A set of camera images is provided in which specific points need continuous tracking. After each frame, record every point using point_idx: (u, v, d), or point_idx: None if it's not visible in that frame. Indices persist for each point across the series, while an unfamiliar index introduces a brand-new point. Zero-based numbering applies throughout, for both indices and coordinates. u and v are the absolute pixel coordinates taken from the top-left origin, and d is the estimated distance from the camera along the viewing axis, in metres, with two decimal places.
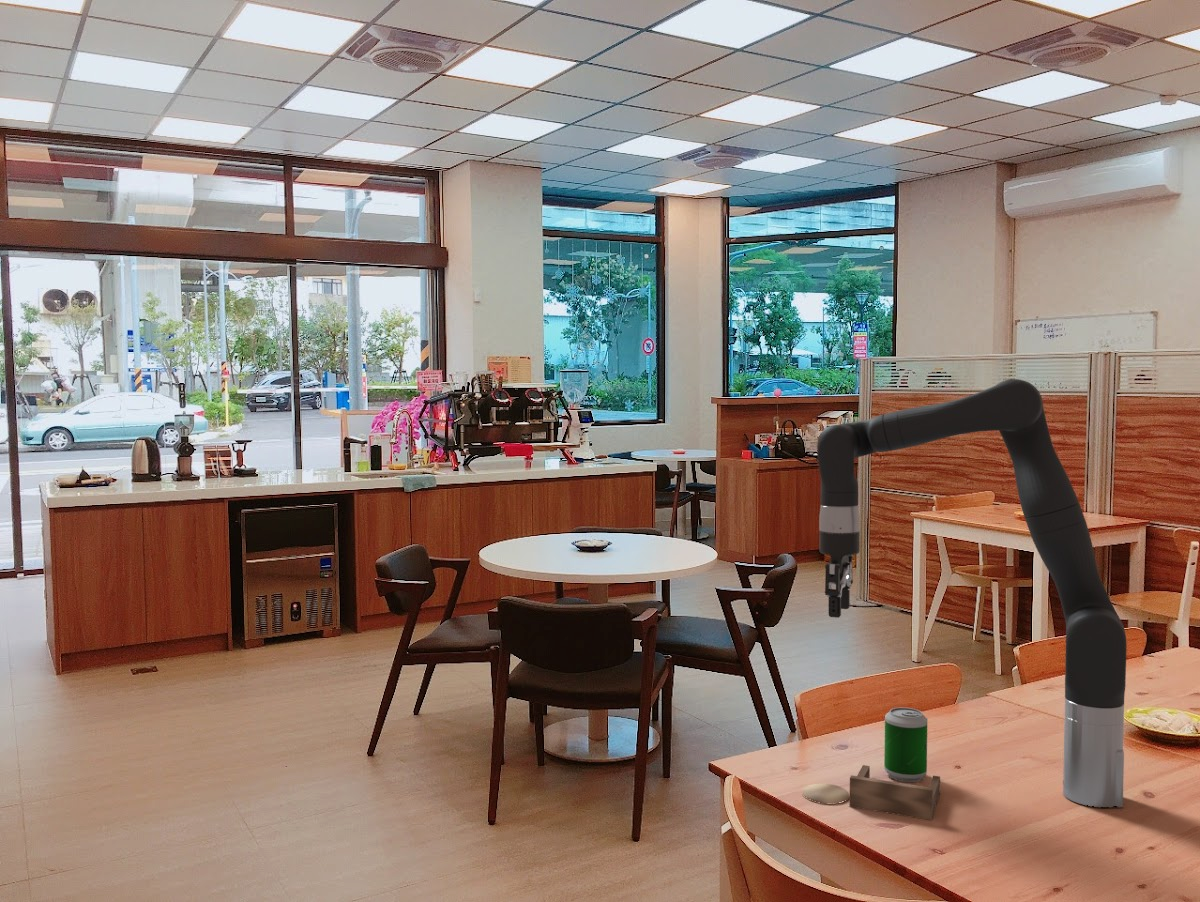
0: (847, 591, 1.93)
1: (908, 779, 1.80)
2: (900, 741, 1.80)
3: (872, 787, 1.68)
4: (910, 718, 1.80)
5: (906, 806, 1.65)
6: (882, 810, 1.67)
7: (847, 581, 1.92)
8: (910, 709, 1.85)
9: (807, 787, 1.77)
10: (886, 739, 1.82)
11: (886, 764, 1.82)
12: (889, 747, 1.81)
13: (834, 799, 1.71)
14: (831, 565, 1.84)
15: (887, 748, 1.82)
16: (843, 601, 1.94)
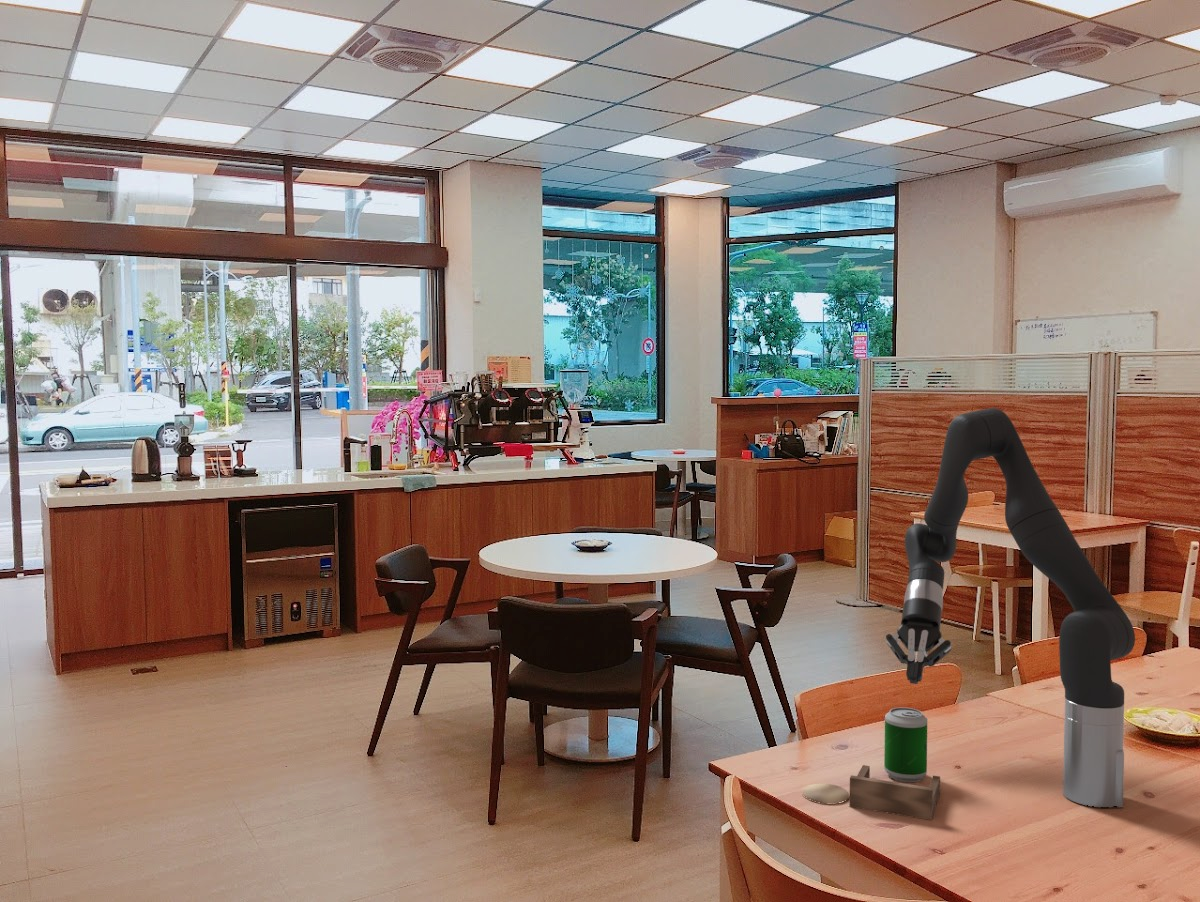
0: None
1: (908, 779, 1.80)
2: (900, 741, 1.80)
3: (872, 787, 1.68)
4: (910, 718, 1.80)
5: (906, 806, 1.65)
6: (882, 810, 1.67)
7: None
8: (910, 709, 1.85)
9: (807, 787, 1.77)
10: (886, 739, 1.82)
11: (886, 764, 1.82)
12: (889, 747, 1.81)
13: (834, 799, 1.71)
14: None
15: (887, 748, 1.82)
16: None
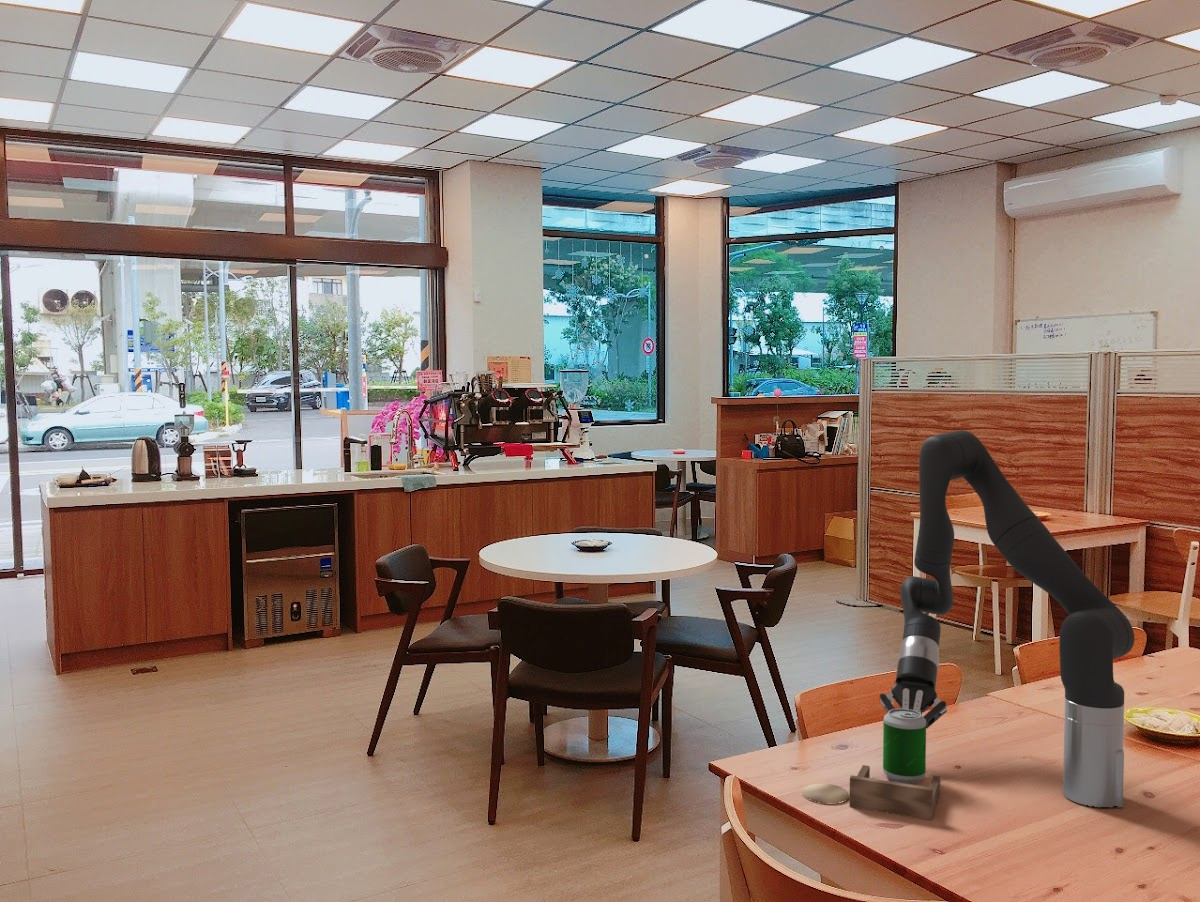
0: None
1: (907, 780, 1.79)
2: (898, 742, 1.79)
3: (872, 787, 1.68)
4: (909, 719, 1.79)
5: (906, 806, 1.65)
6: (882, 810, 1.67)
7: None
8: (909, 710, 1.84)
9: (807, 787, 1.77)
10: (885, 740, 1.81)
11: (885, 766, 1.82)
12: (888, 748, 1.80)
13: (834, 799, 1.71)
14: (880, 699, 1.94)
15: (886, 749, 1.81)
16: None
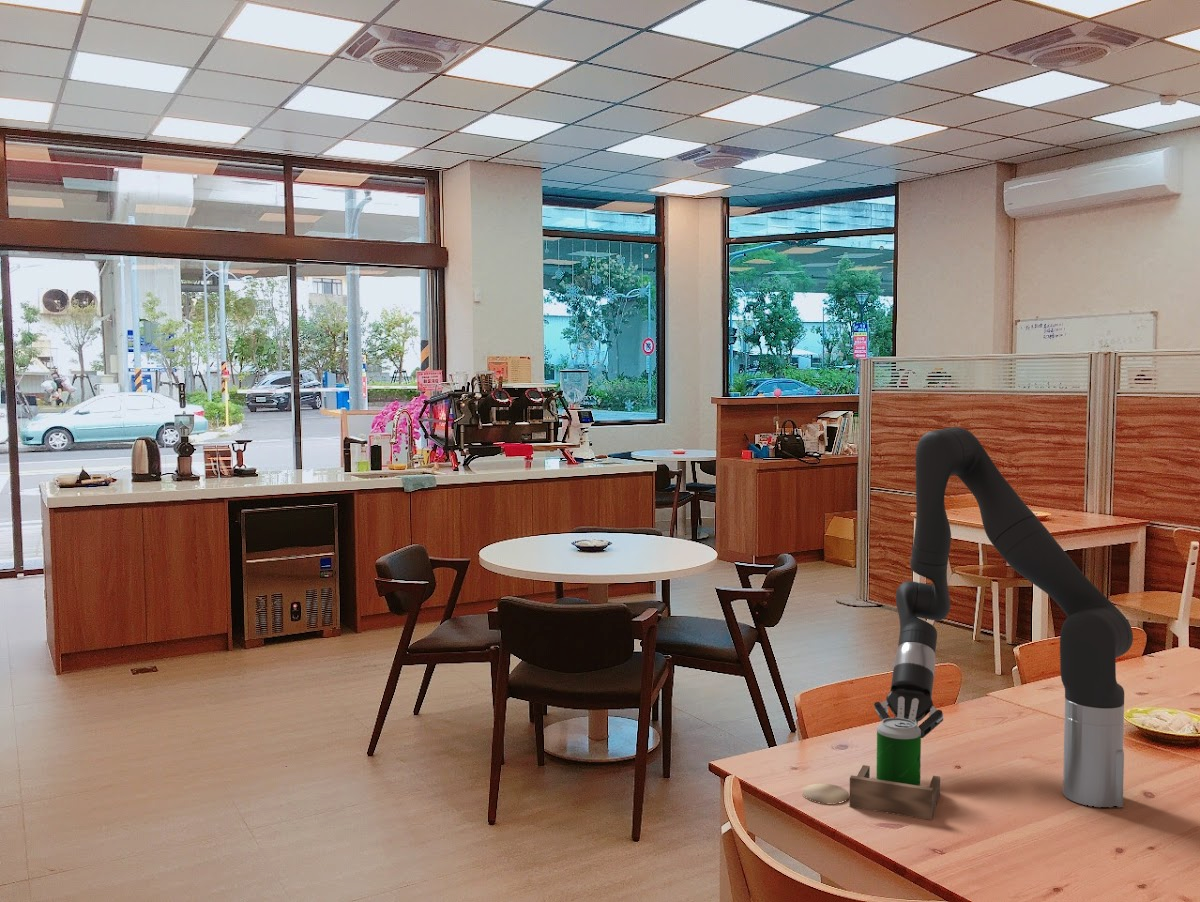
0: None
1: None
2: (891, 752, 1.74)
3: (872, 787, 1.68)
4: (902, 729, 1.74)
5: (906, 806, 1.65)
6: (882, 810, 1.67)
7: None
8: (904, 719, 1.79)
9: (807, 787, 1.77)
10: (878, 750, 1.76)
11: (878, 776, 1.77)
12: (881, 759, 1.75)
13: (834, 799, 1.71)
14: (875, 708, 1.89)
15: (879, 760, 1.76)
16: None
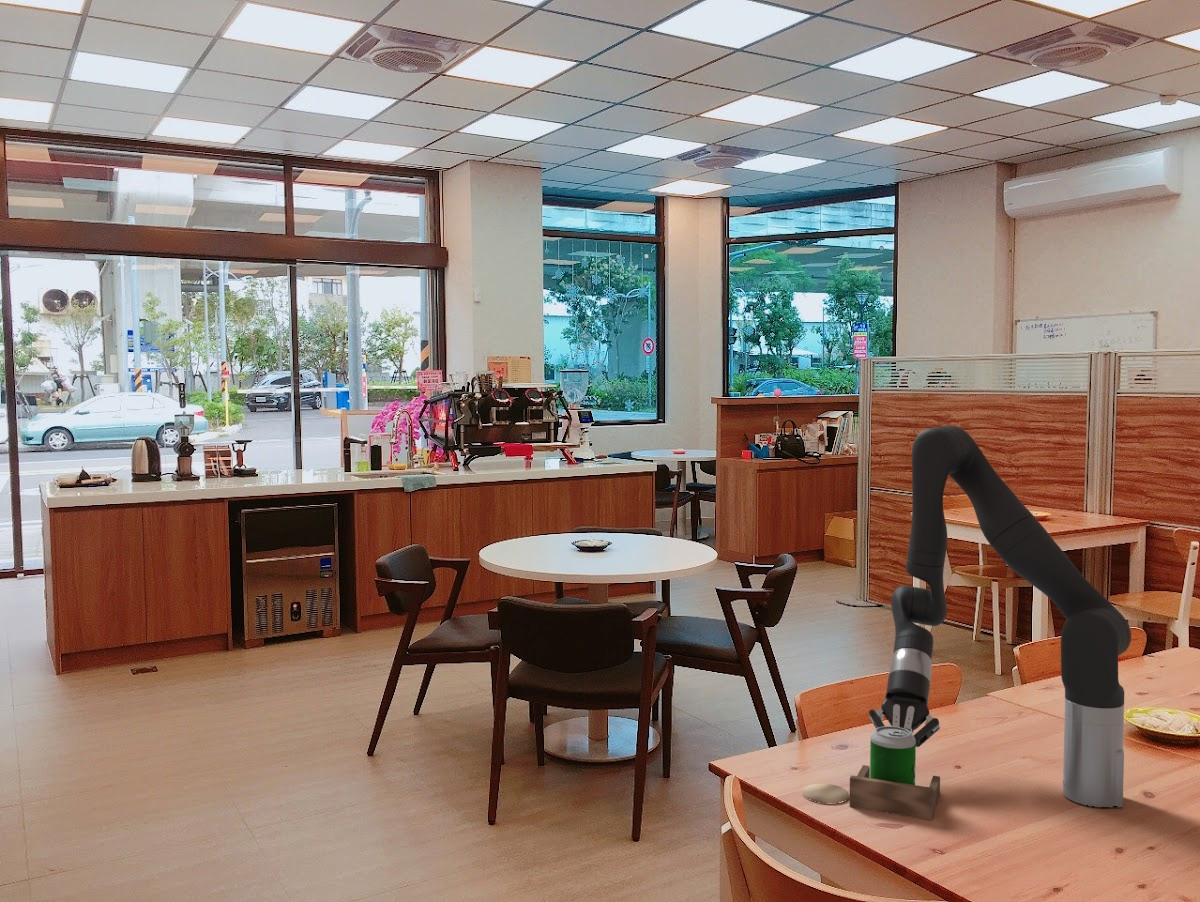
0: None
1: None
2: (884, 762, 1.69)
3: (872, 787, 1.68)
4: (896, 738, 1.69)
5: (906, 806, 1.65)
6: (882, 810, 1.67)
7: None
8: (899, 728, 1.74)
9: (807, 787, 1.77)
10: (871, 759, 1.72)
11: None
12: (874, 768, 1.71)
13: (834, 799, 1.71)
14: None
15: (872, 769, 1.72)
16: None
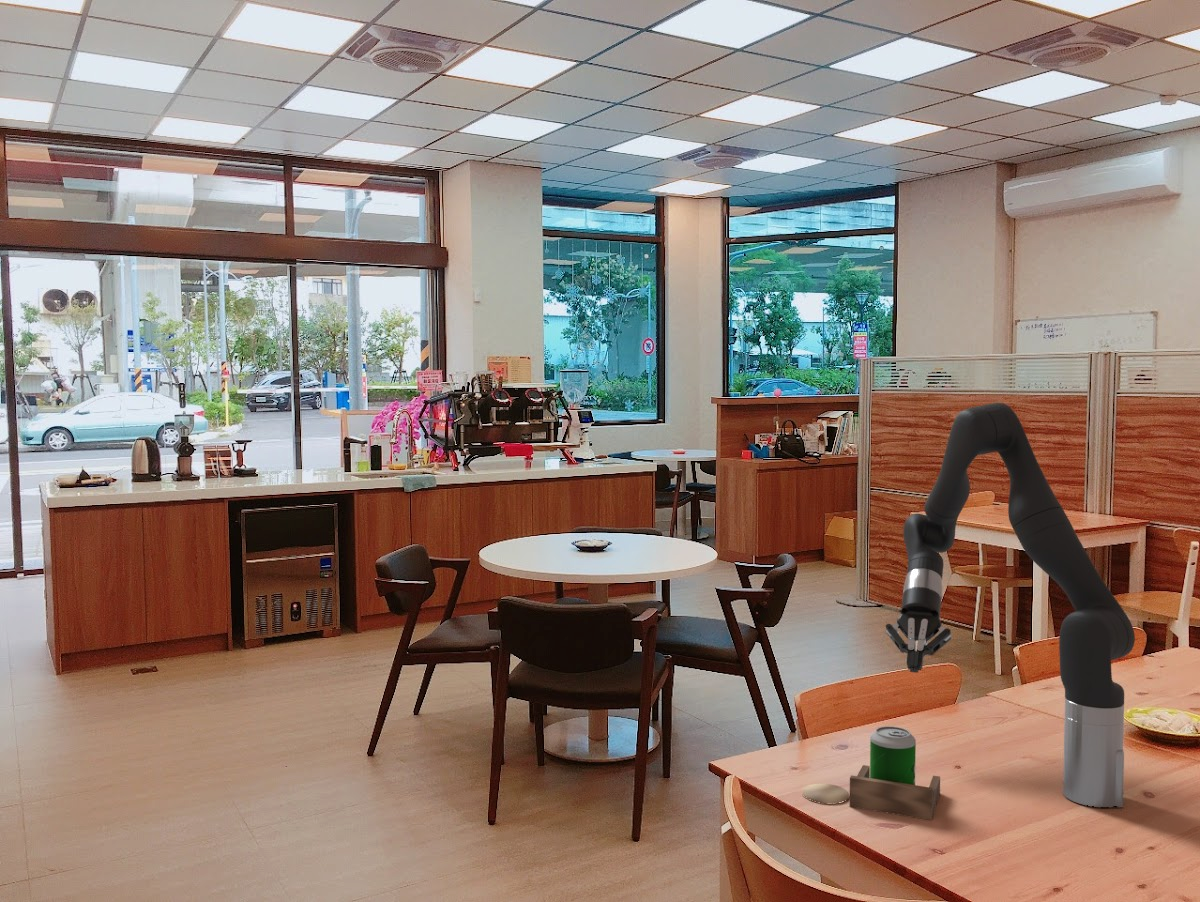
0: None
1: None
2: (884, 762, 1.69)
3: (872, 787, 1.68)
4: (895, 738, 1.69)
5: (906, 806, 1.65)
6: (882, 810, 1.67)
7: None
8: (898, 728, 1.74)
9: (807, 787, 1.77)
10: (871, 760, 1.72)
11: None
12: (874, 768, 1.71)
13: (834, 799, 1.71)
14: (886, 630, 1.99)
15: (872, 769, 1.72)
16: None
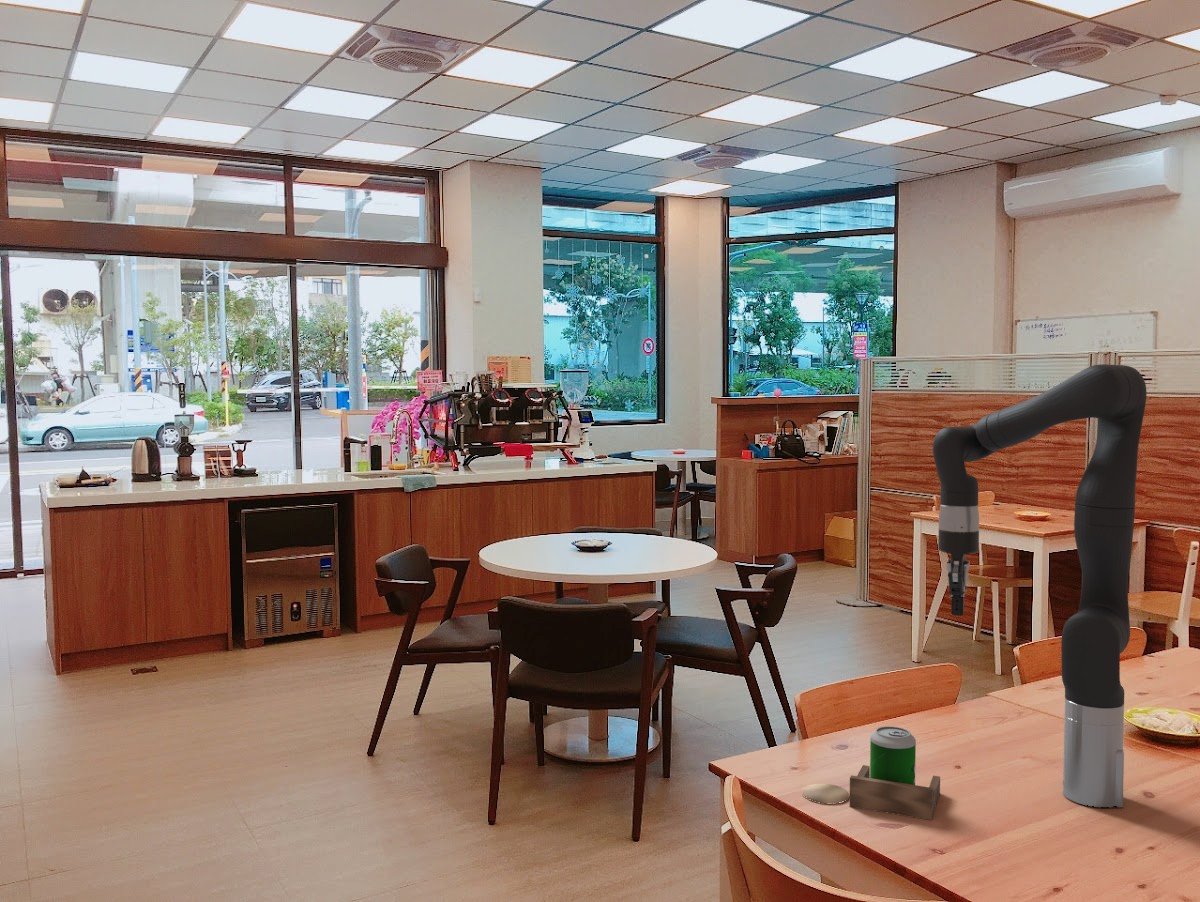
0: None
1: None
2: (884, 762, 1.69)
3: (872, 787, 1.68)
4: (896, 738, 1.69)
5: (906, 806, 1.65)
6: (882, 810, 1.67)
7: None
8: (898, 728, 1.74)
9: (807, 787, 1.77)
10: (871, 760, 1.72)
11: None
12: (874, 768, 1.71)
13: (834, 799, 1.71)
14: (954, 576, 1.90)
15: (872, 769, 1.72)
16: (957, 607, 1.96)
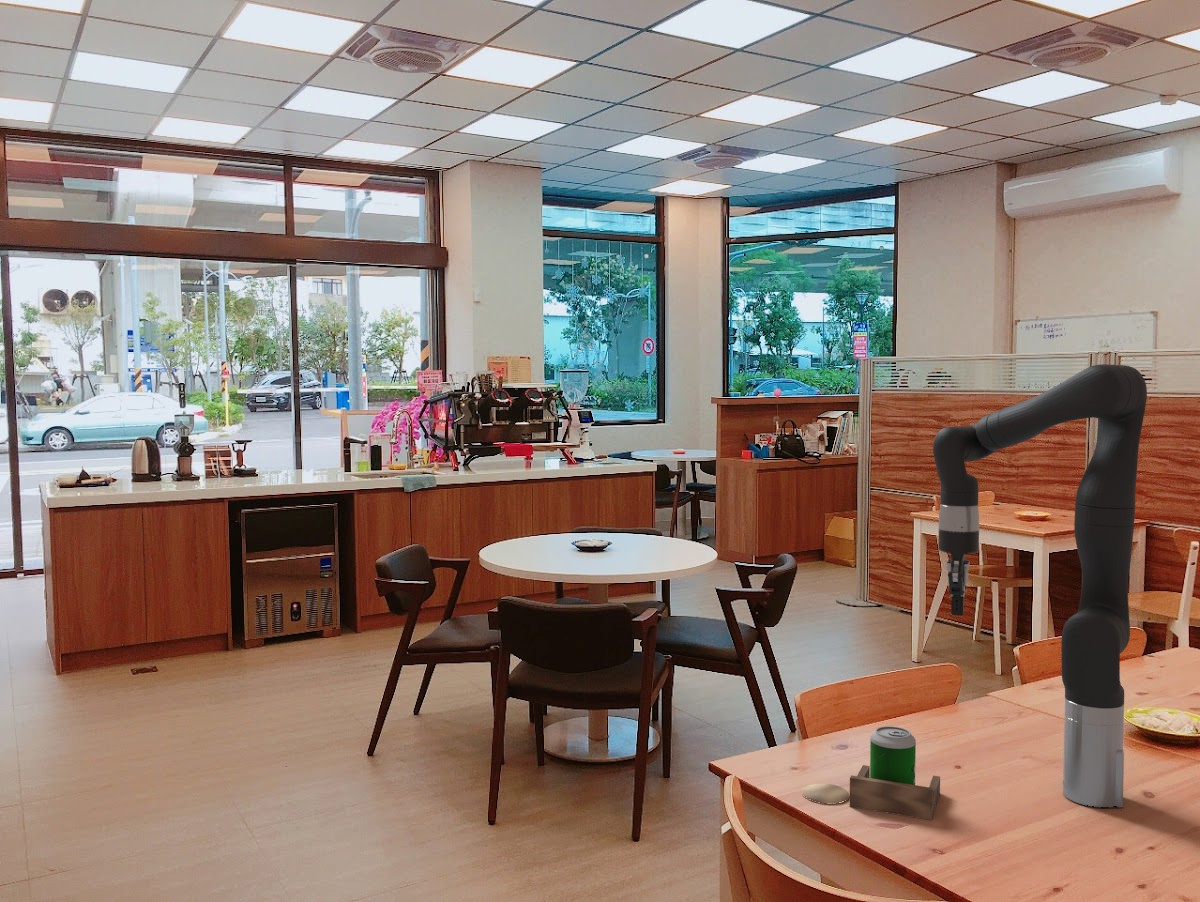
0: None
1: None
2: (884, 762, 1.69)
3: (872, 787, 1.68)
4: (895, 738, 1.69)
5: (906, 806, 1.65)
6: (882, 810, 1.67)
7: None
8: (898, 728, 1.74)
9: (807, 787, 1.77)
10: (871, 760, 1.72)
11: None
12: (874, 768, 1.71)
13: (834, 799, 1.71)
14: (954, 576, 1.90)
15: (872, 769, 1.72)
16: None
